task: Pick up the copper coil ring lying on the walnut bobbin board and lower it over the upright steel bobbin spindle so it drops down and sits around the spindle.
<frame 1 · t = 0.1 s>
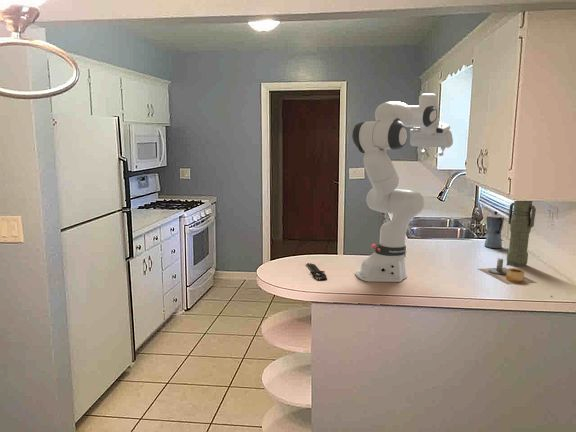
hand: (431, 154, 233), 52 cm above the countertop, fingers open, 8 cm apart
coil ring: (514, 279, 206), point 1 cm above the countertop, touching bobbin board
bobbin board: (505, 278, 212), on the countertop
thermos: (516, 267, 231), on the countertop
moka pot: (493, 247, 268), on the countertop
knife: (314, 272, 219), on the countertop
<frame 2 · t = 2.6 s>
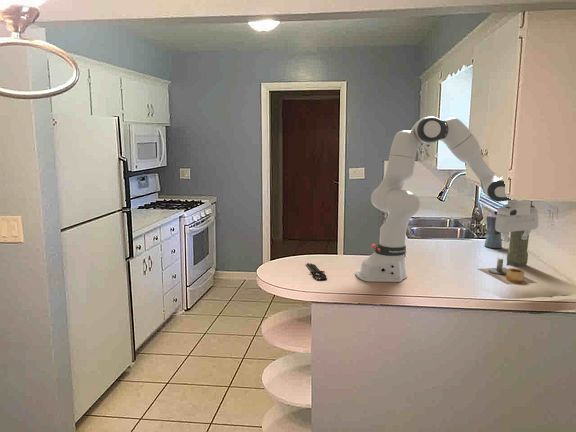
hand: (515, 240, 207), 18 cm above the countertop, fingers open, 8 cm apart
nothing on the countertop moved.
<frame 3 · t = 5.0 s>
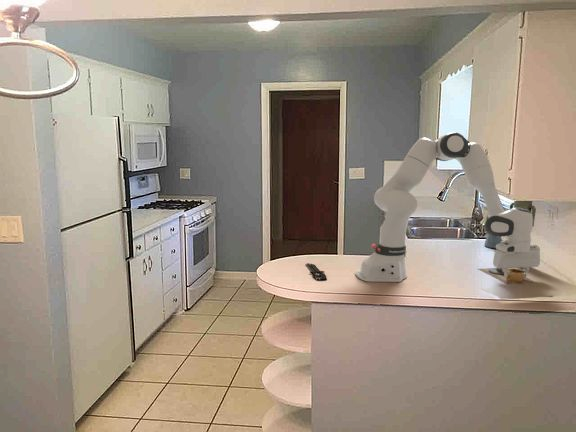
hand: (515, 277, 206), 3 cm above the countertop, fingers closed on coil ring, 7 cm apart
coil ring: (514, 279, 206), point 2 cm above the countertop, touching bobbin board, gripper
everything else where it was.
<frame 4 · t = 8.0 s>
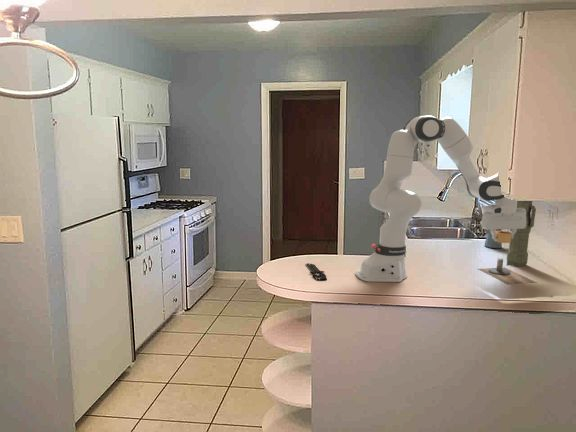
hand: (502, 238, 214), 17 cm above the countertop, fingers closed on coil ring, 7 cm apart
coil ring: (502, 241, 214), point 16 cm above the countertop, touching gripper
everything else where it was.
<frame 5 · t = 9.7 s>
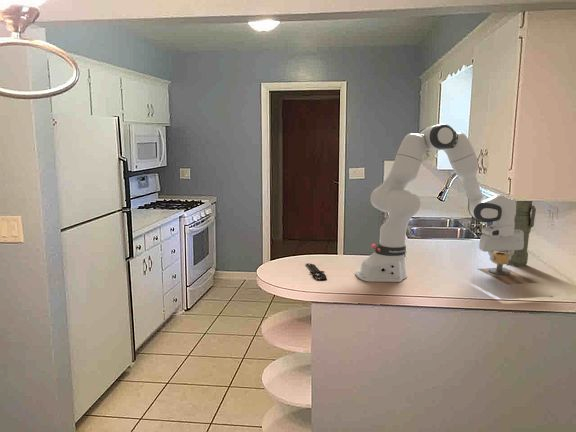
hand: (500, 260, 216), 7 cm above the countertop, fingers closed on coil ring, 7 cm apart
coil ring: (500, 262, 216), point 6 cm above the countertop, touching gripper
everything else where it was.
when the fingers open (6 cm above the countertop, at t = 11.0 s): coil ring drops 2 cm, resting on bobbin board.
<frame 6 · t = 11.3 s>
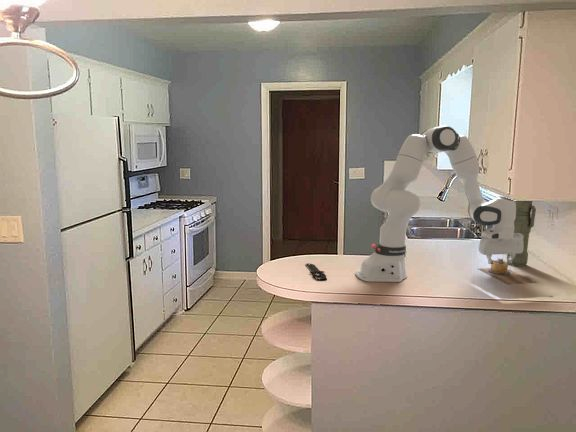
hand: (499, 263, 216), 6 cm above the countertop, fingers open, 8 cm apart
coil ring: (499, 270, 217), point 2 cm above the countertop, touching bobbin board
everything else where it was.
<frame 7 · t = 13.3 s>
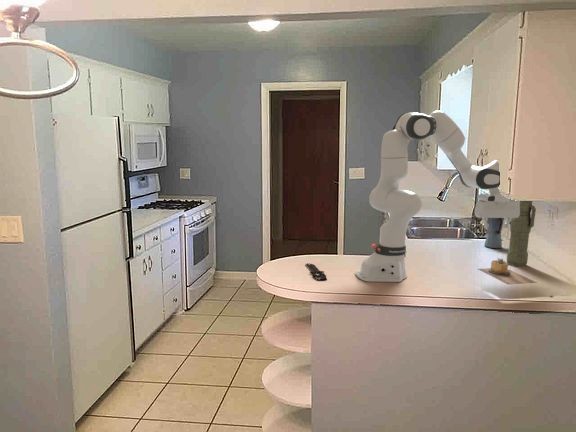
hand: (495, 227, 214), 22 cm above the countertop, fingers open, 8 cm apart
nothing on the countertop moved.
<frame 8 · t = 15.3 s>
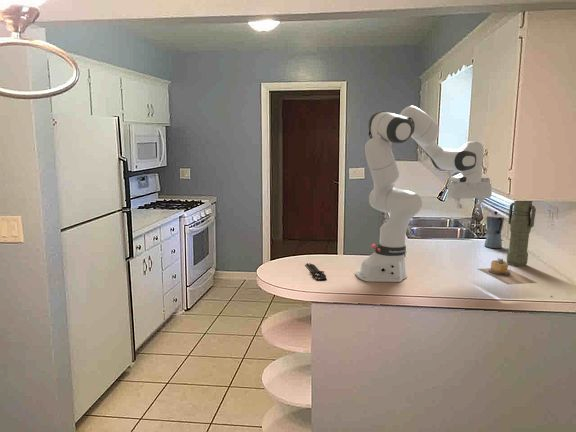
hand: (468, 208, 220), 29 cm above the countertop, fingers open, 8 cm apart
nothing on the countertop moved.
at the end: coil ring 0.1 cm from the target spot, point 2.0 cm above the countertop; coil ring tilted 0°; the gripper is holding nothing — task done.
